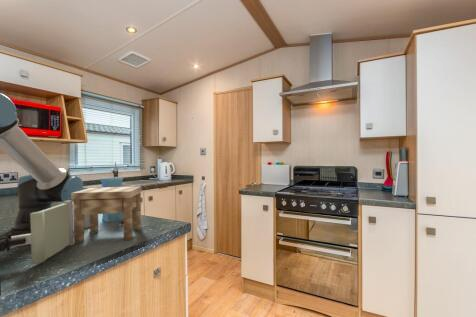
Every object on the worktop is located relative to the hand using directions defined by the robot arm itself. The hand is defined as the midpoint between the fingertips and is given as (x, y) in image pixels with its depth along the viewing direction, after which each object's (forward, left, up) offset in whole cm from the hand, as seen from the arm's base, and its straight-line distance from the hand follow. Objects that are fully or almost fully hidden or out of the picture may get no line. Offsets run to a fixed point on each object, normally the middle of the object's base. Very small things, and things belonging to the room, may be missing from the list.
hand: (41, 236), depth 70 cm
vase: (-29, +33, -7) cm, 45 cm away
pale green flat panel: (-1, +4, -6) cm, 7 cm away
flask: (-27, +20, -7) cm, 34 cm away
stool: (-6, +22, -7) cm, 24 cm away
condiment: (-17, +35, -7) cm, 40 cm away
